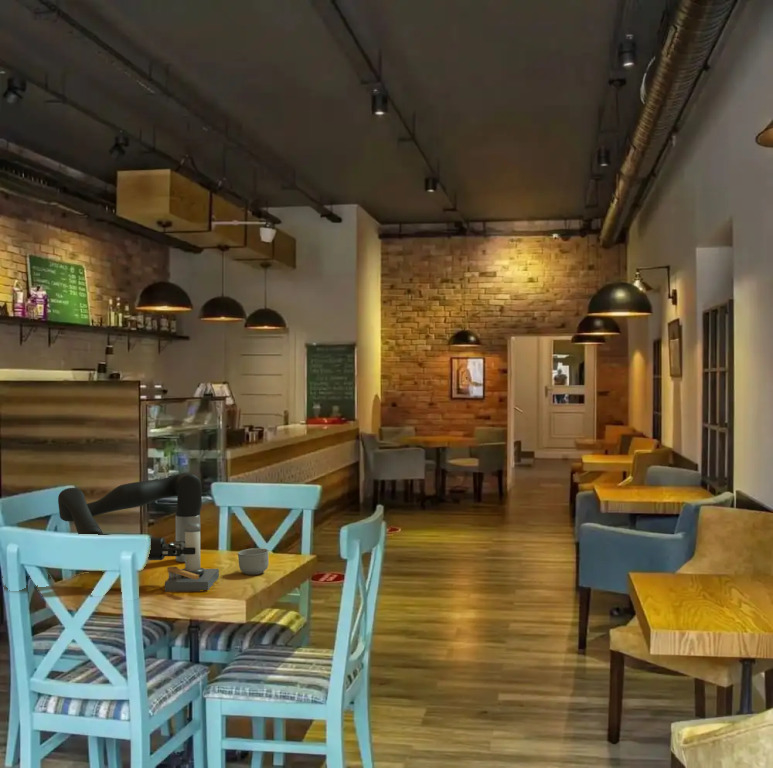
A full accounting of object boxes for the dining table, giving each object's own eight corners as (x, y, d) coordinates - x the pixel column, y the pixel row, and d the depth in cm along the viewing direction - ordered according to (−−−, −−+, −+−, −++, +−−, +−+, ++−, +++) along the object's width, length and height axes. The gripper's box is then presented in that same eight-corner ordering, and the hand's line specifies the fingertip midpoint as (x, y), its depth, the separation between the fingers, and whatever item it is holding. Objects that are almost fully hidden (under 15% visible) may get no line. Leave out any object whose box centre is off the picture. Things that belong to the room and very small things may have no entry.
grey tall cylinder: (183, 581, 296) (183, 523, 296) (206, 581, 296) (206, 522, 296) (179, 586, 288) (178, 526, 288) (201, 586, 288) (201, 526, 288)
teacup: (267, 576, 304) (267, 553, 304) (236, 576, 303) (236, 553, 303) (270, 567, 318) (270, 546, 317) (240, 568, 317) (240, 546, 317)
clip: (174, 569, 290) (174, 566, 290) (201, 578, 277) (201, 574, 277) (165, 571, 288) (165, 567, 288) (192, 580, 275) (192, 576, 275)
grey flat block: (178, 577, 302) (177, 563, 302) (218, 577, 302) (218, 562, 302) (164, 591, 282) (164, 576, 282) (208, 591, 282) (208, 575, 282)
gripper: (154, 555, 299) (202, 555, 299) (144, 564, 284) (193, 564, 285) (154, 534, 299) (202, 533, 299) (144, 541, 284) (193, 541, 285)
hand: (197, 548), depth 292 cm, fingers open, 8 cm apart
